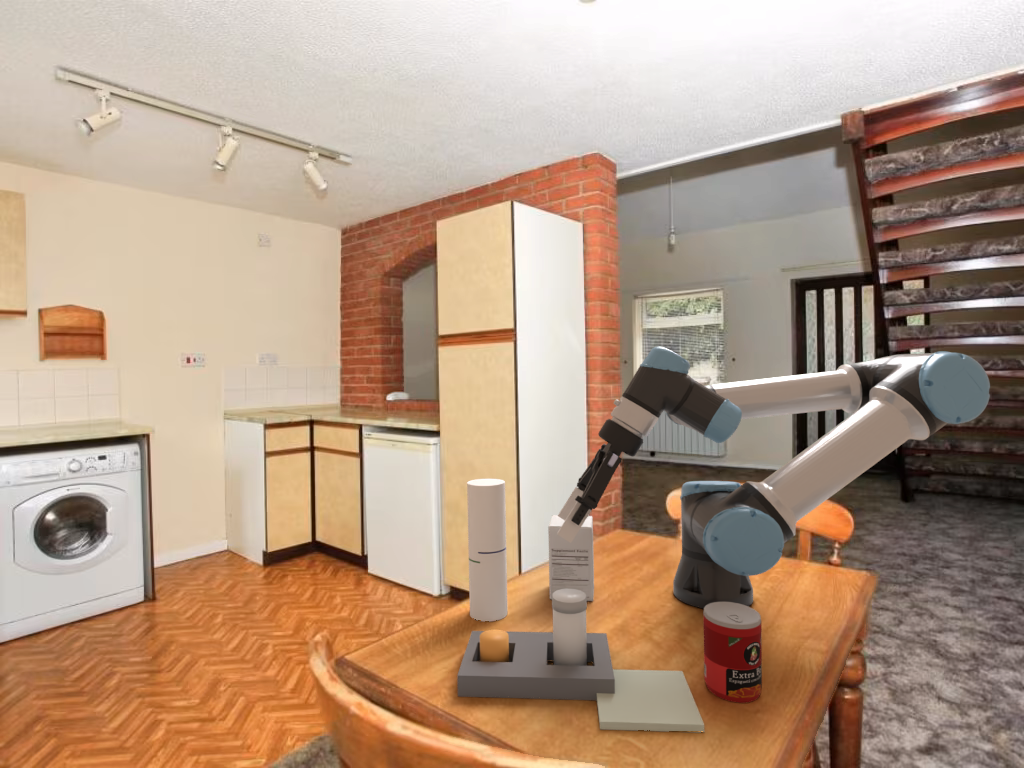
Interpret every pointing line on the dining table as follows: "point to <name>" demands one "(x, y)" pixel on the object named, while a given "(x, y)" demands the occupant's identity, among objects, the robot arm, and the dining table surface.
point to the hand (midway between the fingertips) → (563, 528)
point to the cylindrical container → (487, 549)
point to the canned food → (732, 651)
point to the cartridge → (569, 627)
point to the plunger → (494, 646)
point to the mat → (649, 702)
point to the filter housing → (536, 670)
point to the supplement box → (571, 558)
